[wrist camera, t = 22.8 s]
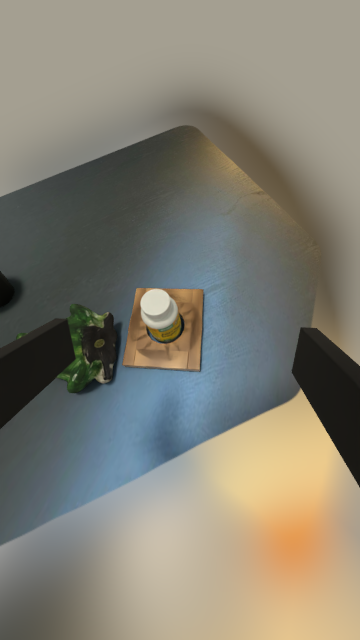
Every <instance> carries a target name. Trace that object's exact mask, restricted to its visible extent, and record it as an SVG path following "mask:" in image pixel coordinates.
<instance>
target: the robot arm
mask: <svg viewBox="0 0 360 640" xmlns="http://www.w3.org/2000/svg"><path fill="white" fill-rule="evenodd" d="M74 360H76V356H75V352H74V347H73V342H72V338H71V333H70V328H69V324H68V319H54V320H52V321H50V322H48V323H46V324H45V325H43V326H41V327H39V328H37V329H35V330H33V331H32V332H30V333H28V334H26V335H24V336H22V337H21V338H19V339H17V340H15V341H13V342H11V343H9V344H8V345H6V346H4V347H2V348H0V429H1V428H2V427H3V426H4V425H5V424H6V423H7V422H8V421H9V420H11V419H12V418H13V417H14V416H15V415H16V414H17V413H18V412H19V411H20V410H21V409H22V408H24V407H25V406H26V405H27V404H28V403H29V402H30V401H31V400H32V399H33V398H34V397H35V396H37V395H38V394H39V393H40V392H41V391H42V390H43V389H44V388H45V387H46V386H47V385H48V384H50V383H51V382H52V381H53V380H54V379H55V378H56V377H57V376H58V375H59V374H60V373H61V372H63V371H64V370H65V369H66V368H67V367H68V366H69V365H70V364H71V363H72V362H73V361H74ZM292 374H293V375H294V377H295V379H296V380H297V382H298V384H299V385H300V387H301V389H302V390H303V392H304V394H305V395H306V397H307V399H308V401H309V402H310V404H311V406H312V407H313V409H314V411H315V412H316V414H317V416H318V418H319V419H320V421H321V422H322V424H323V426H324V428H325V429H326V431H327V433H328V434H329V436H330V438H331V439H332V441H333V443H334V444H335V446H336V448H337V450H338V451H339V453H340V455H341V456H342V458H343V460H344V462H345V463H346V465H347V467H348V468H349V470H350V471H351V473H352V475H353V476H354V478H355V480H356V482H357V483H358V485H359V487H360V366H359V365H358V364H357V363H356V362H354V361H353V360H352V359H351V358H350V357H349V356H348V355H347V354H345V353H344V352H343V351H342V350H341V349H340V348H339V347H337V346H336V345H335V344H334V343H333V342H332V341H331V340H329V339H328V338H327V337H326V336H325V335H324V334H323V333H321V332H320V331H319V330H318V329H317V328H301V329H300V334H299V339H298V344H297V348H296V353H295V358H294V363H293V368H292Z"/></svg>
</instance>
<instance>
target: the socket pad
mask: <svg viewBox="0 0 360 640" xmlns="http://www.w3.org/2000/svg"><path fill="white" fill-rule="evenodd" d="M150 290H152V288H147V289H146V288H137V290H136V295H135V300H134V306H133V311H132V316H131V319H130V324H129V329H128V331H129V332H128V337H127V343H126V348H125V353H124V359H123V364H122V365H123V366H125V367H134V368H149V369H165V370H181V371H195V372H200V355H201V337H202V311H203V289H161V290H164V291H165V292H166V293H167V294H168V295H169V297H171V298H172V299H173V300H174V301H175V303H176V304H177V307H178V312H179V316H180V317H181V318H182V319H183V321H184V323H185V324H184V331H183V332H182V334H181V336H180V337H179V338H178V339H177V340H175V341H174V342H171V343H168V344H160V343H157V342H155V341H153V340H152V339H151V338H150V337H149V334H148V328H147V326H146V325H145V323H144V321H143V320H142V317H141V305H140V302H141V299H142V297H143V295H144V294H145V293H146V292H148V291H150Z"/></svg>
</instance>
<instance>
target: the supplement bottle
mask: <svg viewBox="0 0 360 640" xmlns="http://www.w3.org/2000/svg"><path fill="white" fill-rule="evenodd" d="M140 305H141V317H142V320H143V321H144V323H145V325H146V326H147V328H148V329H149V331H150V332H151V334H152V335H153V337H154V338H155V339H156V340H158V341H160V342H171V341H173V340H175V339H176V338H177V337H178V336H179V334H180V332H181V327H182V325H181V320H180V316H179V312H178V307H177V304H176V303H175V301H174V300H173V299H172V298H171V297H169V295H168V294H167V293H166V292H165V291H164V290H161V289H152V290H150V291H148V292H146V293H145V294H144V295H143V297H142V299H141V302H140Z"/></svg>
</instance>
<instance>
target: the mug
mask: <svg viewBox="0 0 360 640" xmlns="http://www.w3.org/2000/svg"><path fill="white" fill-rule="evenodd" d="M13 295H14V288H13V286H12V285H11V284H10V283H9V281H8V280H7V279H6V277H5V276H4V275H3V274H2V273H1V271H0V307H2V306H4V305H6V304H7V303H8V302H9V301H10V300H11V299H12V297H13Z"/></svg>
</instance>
